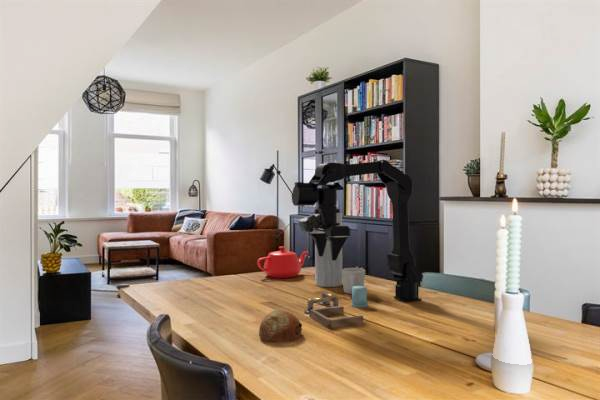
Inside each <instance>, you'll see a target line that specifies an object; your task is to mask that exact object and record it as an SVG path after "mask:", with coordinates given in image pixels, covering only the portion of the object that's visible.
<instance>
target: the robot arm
mask: <svg viewBox="0 0 600 400" xmlns="http://www.w3.org/2000/svg"><path fill="white" fill-rule="evenodd" d="M370 174H376V175H377V176H378V178H379V180H380V182H381V183H382V184H384V185H385V187H386V188H385V189H386V194H387V197H388V198H389V201H390V202H391V206H392V209H391V211H392V214H391V215H392V235H393V236H392V237H393V249H392V251H391V253H387V255H386V256H387V265H386V266H387V267H388V269H389V271H390V272H391V274H392V276H393V279H396V284H395V285H394V287H395V288H394V289H395V292H394V293H395V295H394V296H393V299H395V300H398V301H402V302H404V303H407V302H408V303H409V302H419V301H420V302H421V301H422V298H421V297H419V291H420V289H419V285H420V284H419V283H422V282H423V278H424V274H423V273H422V272H421V271H420V270H419V269H418V268H417V265H416V260H415V256H414V255H413V252H412V250H411V248H410V230H409V229H410V228H409V205H408V204H409V201H410V199H411V197H412V195H413V188H414V187H413V186H414V185H413V184H414V183H413V178H412V177H410V175H408V174H405V173H404V172H403V171H402V170H400V169H399V168H397V167H395V166H394V165H393V164H391V163H390V162H389V161H388V160H386V159H379V160H375V161H369V162H359V163H351V164H349V163H348V164H346V163H340V162H325V163H321V164H318V165H317V166H316V167H315V170H314V174H313V176H312V177H311V178H310V180H309V182H303V181H297V182H296V181H295V182H294V187H293V189H292V193H291V202H292V204H293V206H295V207H296V206H297V207H299V206H302V207H303V206H304V207H305V206H309V207H310V206H315V205H316V203H317V208H315V209H314V210H313V214H310V215H309V216H305V217H302V218H301V219H299V220H298V224H299V226H300V229H301V231H302V232H303V231H304V232H306V233H308V235H309V236H311V238H313V240H314V241H313V242H314V243H315V244H316V247H317V251H318V255H319V256H323V253H324V250H325V246H326V242H327V240H328V241H329V242H330V248H331V257H332V260H333V261H334V260H336V259H337V257H338V255H339V253H340V250H341V248H342V249H343V246H344V245H345V243H346V240H347V239H349V237H351V230H352V229H351V228H350V226H348V225H343V224H342V225H340V223H337V213H340V212H341V211H340V209H339V208H338V191H344V189H345V188H344V186H342V185H341V184H340V182H338V181H341V180H344V179H346V178H348V177H354V176H356V177H357V176H362V175H370ZM329 183H333V184H329ZM318 186H322V187H321V188H320V187H318ZM324 232H326V233H324ZM328 236H331V237H328Z"/></svg>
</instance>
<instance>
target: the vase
mask: <svg viewBox="0 0 600 400" xmlns="http://www.w3.org/2000/svg"><path fill="white" fill-rule="evenodd" d="M337 223H340V225H343V211H340V213H337ZM324 233H326V232H324ZM328 237H331V236H328ZM314 246H315V249H314V250H315V253H314V255H315V256H314V258H315V259H314V266H315V268H314V269H315V271H314V274H315V277H314V278H315V279H314V282H315V286H317V287H322V288H337V287H341V286H343V278H342V269H343V247H342V248H341V250H340V253H339V255H338V257H337V259H336V260H334V261H333V260H332V257H331V248H330V242H329V241H328V240H327V242H326V246H325V250H324V253H323V256H319V255H318V251H317V247H316V244H315V245H314Z"/></svg>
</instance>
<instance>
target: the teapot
mask: <svg viewBox="0 0 600 400" xmlns="http://www.w3.org/2000/svg"><path fill="white" fill-rule="evenodd" d="M278 248H279V250H277V251H271V252H269V253H268V255H267V256H264V257H259V258H258V259H257V262H256V264H257V266H258V268H259V269H260V270H261V271H263V272H264V273H265V274H266V275H267V276H268V277H270V278H273V279H290V278H291V279H292V278H294V277H296V276H298V275H299V274H300V273H301V270H302V267H303V265H304V262H305V258H306V255H307V254H308V253H309V251H308V250H307V251H306V250H305V251H302V254H301V255H300V257H298V255H297V252H294V251H290V250H289V251H287V250H285V249H286V246H283V245H282V246H279V247H278ZM262 261H264V263H263V264H264V265H262V263H261V262H262Z"/></svg>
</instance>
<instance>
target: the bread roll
mask: <svg viewBox="0 0 600 400" xmlns="http://www.w3.org/2000/svg"><path fill="white" fill-rule="evenodd" d="M302 327H303V324H302V323H301V320H300V319H299V318H298V317H297V316H296V315H294V314H293V313H291V312H289V311H286V310H284V309H283V310H282V309H274V310H271V311H269V312H268V313H266V314H265V315H264V317H263V318H262V320H261V322H260V325H259V329H258V335H259V337H260V338H261V339H262V340H263V341H265V342H270V343H285V342H292V341H295V340H297V339H299V338H300V337H301V335H302V330H303V328H302Z"/></svg>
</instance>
